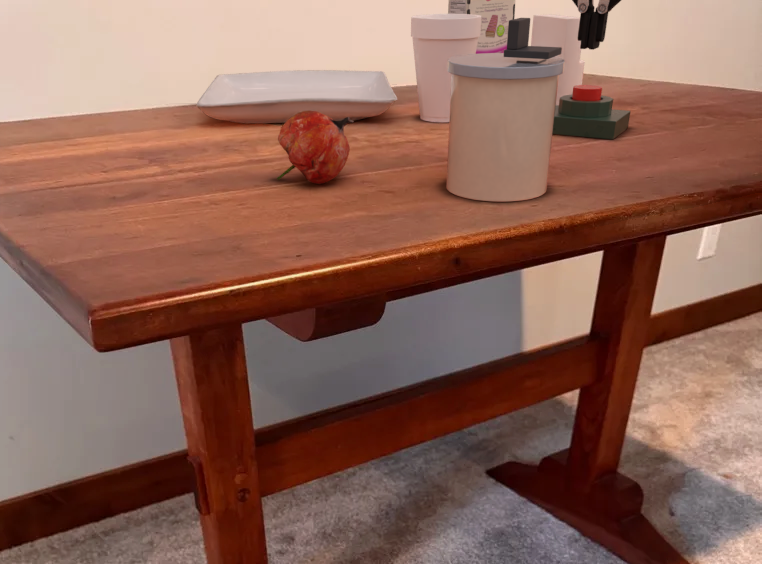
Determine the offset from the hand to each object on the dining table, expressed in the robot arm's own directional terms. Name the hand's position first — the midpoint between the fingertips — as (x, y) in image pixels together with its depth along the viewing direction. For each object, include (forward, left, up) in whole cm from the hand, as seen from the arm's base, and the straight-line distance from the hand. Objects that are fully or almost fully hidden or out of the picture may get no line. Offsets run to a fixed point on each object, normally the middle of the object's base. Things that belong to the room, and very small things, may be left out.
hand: (589, 47), depth 100 cm
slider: (-3, +32, +3) cm, 32 cm away
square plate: (+42, +3, -10) cm, 43 cm away
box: (0, 0, -10) cm, 10 cm away
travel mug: (0, +32, -10) cm, 34 cm away
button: (0, 0, -6) cm, 6 cm away
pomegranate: (+18, +38, -10) cm, 43 cm away
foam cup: (+20, 0, -10) cm, 22 cm away
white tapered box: (+10, -18, -10) cm, 23 cm away
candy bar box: (+25, -26, -10) cm, 37 cm away
